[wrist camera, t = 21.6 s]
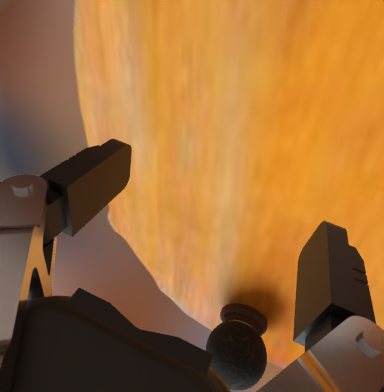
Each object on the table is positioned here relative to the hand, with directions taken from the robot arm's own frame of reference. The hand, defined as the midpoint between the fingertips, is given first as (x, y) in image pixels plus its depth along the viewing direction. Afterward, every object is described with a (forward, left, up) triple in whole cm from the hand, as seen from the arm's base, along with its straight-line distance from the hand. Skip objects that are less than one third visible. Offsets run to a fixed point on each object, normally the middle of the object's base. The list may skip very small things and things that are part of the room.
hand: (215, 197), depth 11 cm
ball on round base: (-13, +54, -30) cm, 63 cm away
